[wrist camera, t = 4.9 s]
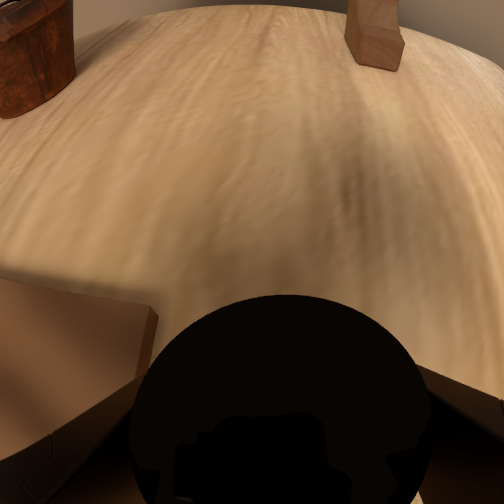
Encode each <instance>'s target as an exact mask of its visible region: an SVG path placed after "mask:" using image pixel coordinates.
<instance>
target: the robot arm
mask: <svg viewBox="0 0 504 504" xmlns="http://www.w3.org/2000/svg"><path fill="white" fill-rule="evenodd" d="M416 366H417V367H418V369H419V371H420V373H421V375H422V377H423V380H424V382H425V384H426V387H427V390H428V394H429V397H430V401H431V407H432V412H433V425H434V430H433V445H432V452H431V457H430V461H429V465H428V468H427V471H426V474H425V477H424V479H423V482H422V484H421V486H420V488H419V490H418V491H419V494H420V496H421V499H422V501H423V504H504V400H502V399H500V400H499V398H496V397H494V396H491V395H489V394H486V393H484V392H481V391H479V390H477V389H474V388H472V387H469V386H467V385H464V384H462V383H460V382H457V381H455V380H452V379H450V378H448V377H445V376H443V375H441V374H438V373H436V372H434V371H431V370H429V369H427V368H424V367H422V366H420V365H417V364H416ZM145 375H146V373H142V374H141V375H139V376H138V377H136V378H135V379H133V380H132V381H130V382H129V383H127V384H126V385H124V386H123V387H121V388H120V389H118V390H117V391H115V392H114V393H112V394H111V395H109V396H108V397H106V398H105V399H103V400H102V401H100V402H99V403H97V404H96V405H94V406H93V407H91V408H89V409H88V410H86V411H85V412H83V413H82V414H80V415H79V416H77V417H75V418H74V419H72V420H71V421H69V422H68V423H66V424H64V425H63V426H61V427H60V428H58V429H56V430H55V431H53V432H52V435H51V434H48V435H47V436H45V437H43V438H42V439H40V440H39V441H37V442H35V443H33V444H32V445H30V446H28V447H26V448H25V449H23V450H21V451H19V452H17V453H15V454H13V455H11V456H9V457H6V458H4V459H2V460H0V504H146V502H145V500H144V498H143V496H142V494H141V492H140V490H139V487H138V485H137V482H136V480H135V476H134V473H133V469H132V465H131V459H130V453H129V425H130V417H131V412H132V408H133V404H134V401H135V398H136V395H137V392H138V389H139V387H140V385H141V383H142V380H143V378H144V377H145Z"/></svg>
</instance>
